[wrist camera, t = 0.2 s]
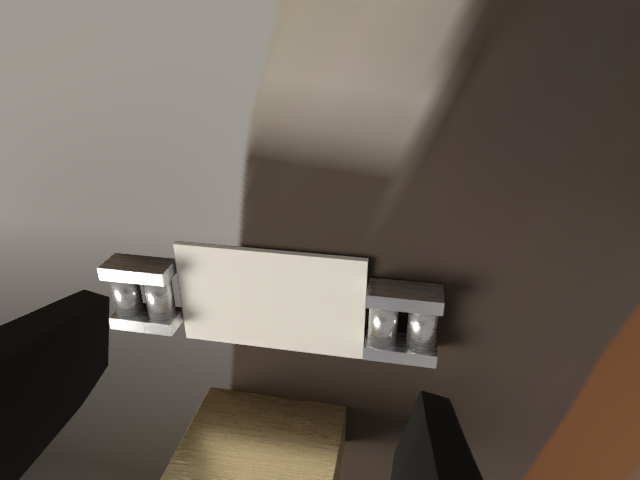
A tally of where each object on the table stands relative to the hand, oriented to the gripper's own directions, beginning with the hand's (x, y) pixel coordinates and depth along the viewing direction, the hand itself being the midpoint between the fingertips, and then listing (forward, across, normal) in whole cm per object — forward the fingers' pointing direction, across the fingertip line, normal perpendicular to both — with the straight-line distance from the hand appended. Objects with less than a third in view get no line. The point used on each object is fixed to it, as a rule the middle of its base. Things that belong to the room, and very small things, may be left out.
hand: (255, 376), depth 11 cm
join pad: (+10, +2, +5) cm, 11 cm away
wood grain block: (+10, 0, +12) cm, 15 cm away
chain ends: (+10, +2, +5) cm, 11 cm away
